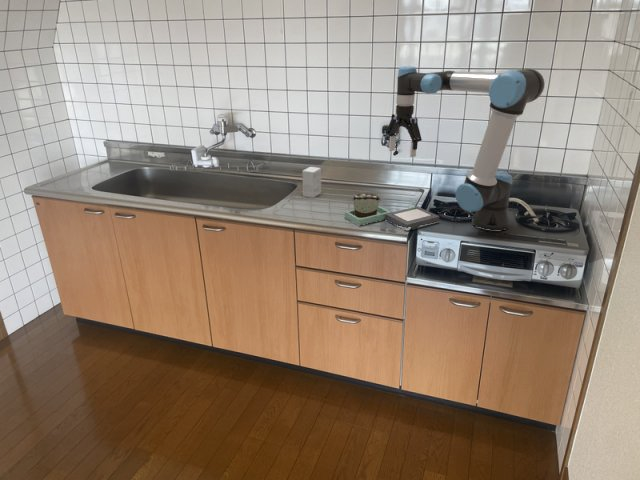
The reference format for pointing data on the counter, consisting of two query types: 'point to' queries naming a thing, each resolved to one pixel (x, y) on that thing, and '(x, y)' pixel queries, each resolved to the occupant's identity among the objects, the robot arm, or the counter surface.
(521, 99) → the robot arm
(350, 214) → the trough tray
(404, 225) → the base
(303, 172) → the small box
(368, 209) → the food container
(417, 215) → the checker plate
